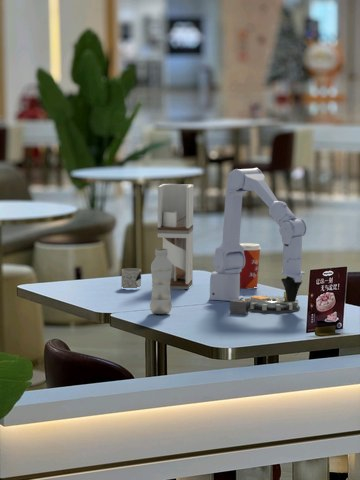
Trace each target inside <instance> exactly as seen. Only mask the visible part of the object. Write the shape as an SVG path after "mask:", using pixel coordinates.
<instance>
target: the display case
mask: <svg viewBox="0 0 360 480" xmlns="http://www.w3.org/2000/svg"><path fill="white" fill-rule="evenodd" d="M194 187H195V186H194V184H191V183H189V184H188V183H187V184H181V183H162V184H160V185H158V186H157V238H162V248H164V249H167V250H168V255H167V258H168V259H169V260H170V262H171V263H172V273H171V280H170V290H172V289H189V290H190V288H191V287H192V286H193V278H194V277H193V274H194V272H193V269H194V268H193V267H194V265H193V264H194V263H193V262H194V260H193V259H194V257H193V256H194V252H193V251H194V194H195V193H194ZM191 285H192V286H191ZM190 286H191V287H190ZM189 287H190V288H189Z"/></svg>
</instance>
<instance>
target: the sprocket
mask: <svg viewBox="0 0 360 480" xmlns="http://www.w3.org/2000/svg"><path fill="white" fill-rule="evenodd" d="M244 300H247V301H249V307H250V308H251V309H262V310H266V311H267V310H276V311H281V310H282V309H287V310H292V308H298V306H299V299H297V298H296V300H295V302H288V301H287V297H286V291H283V296H280V295H275V296H274V295H273V296H271V295H265V294H264V295H254V296H253V295H252V296H249V297H245V298H244Z"/></svg>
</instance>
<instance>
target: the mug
mask: <svg viewBox="0 0 360 480" xmlns="http://www.w3.org/2000/svg"><path fill="white" fill-rule="evenodd" d="M140 286H141V287H142V269H141V268H135V267H134V268H133V267H131V268H130V267H127V268H121V287H123V288H137V287H140Z"/></svg>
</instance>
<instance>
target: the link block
mask: <svg viewBox="0 0 360 480" xmlns="http://www.w3.org/2000/svg"><path fill="white" fill-rule="evenodd" d="M229 305H230V306H229V314H230V315H241V316H246V315H248V314H249V311H248V308H249V301H247V300H245V299H244V300H242V299H240V300H231V301H229Z"/></svg>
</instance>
